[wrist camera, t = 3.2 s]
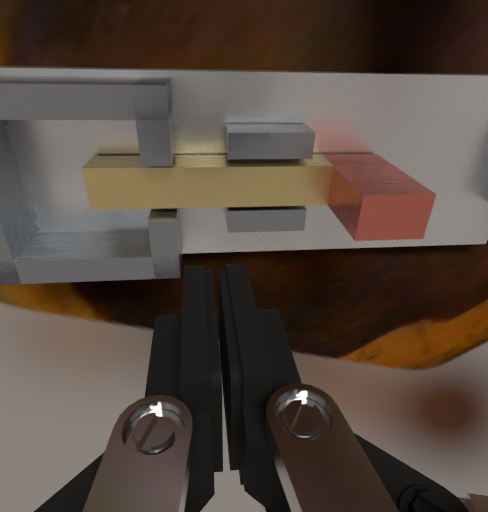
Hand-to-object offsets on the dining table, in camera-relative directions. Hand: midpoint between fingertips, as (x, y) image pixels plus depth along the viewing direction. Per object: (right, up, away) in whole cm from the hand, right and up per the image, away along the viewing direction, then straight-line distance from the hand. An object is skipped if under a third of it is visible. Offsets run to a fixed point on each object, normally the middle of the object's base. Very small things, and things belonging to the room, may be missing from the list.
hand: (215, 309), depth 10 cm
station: (+2, +6, +10) cm, 12 cm away
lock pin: (+1, +6, +9) cm, 11 cm away
